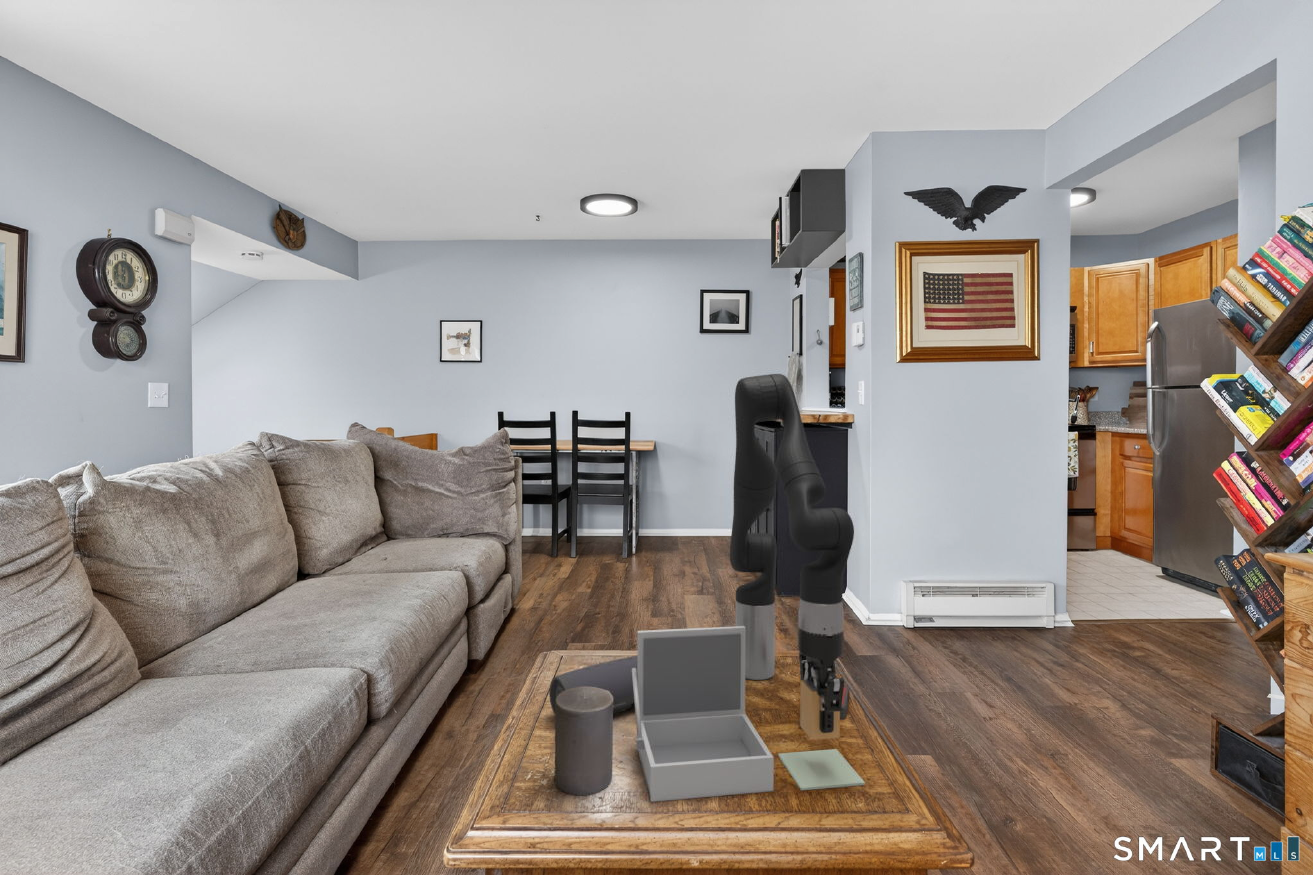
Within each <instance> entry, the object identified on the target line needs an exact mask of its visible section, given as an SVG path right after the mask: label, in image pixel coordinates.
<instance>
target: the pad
mask: <svg viewBox="0 0 1313 875" xmlns="http://www.w3.org/2000/svg"><path fill="white" fill-rule="evenodd" d="M838 750H839V749H837V748H833V749H820V750H819V749H818V750H807V751H793V752H792V751H791V752H782V753H781V752H780V753H778V754H777V757H778V758H779V759H780V761H781V762H782V764H783V765H784V767H785V769H786V770H787V772H788V773H789V774H790V776H791V778H792V779H793V780H794V782H795V784H796V785H797V787H798V788H799V789H800V791H809V790H820V789H821V790H822V789H832V788H833V789H835V788H845V787H856V786H857V787H858V786H865V785H866V782H865V781H864V779H863V778H862V777H861V775H859V773H858V772H856V770H855V769H854V767H852V766H851V764H850V763H849V762H848V761H847V759H846V758H845V757H844V756H843V755H842V754H841V752H839V751H838Z"/></svg>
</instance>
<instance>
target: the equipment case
mask: <svg viewBox="0 0 1313 875" xmlns="http://www.w3.org/2000/svg"><path fill="white" fill-rule="evenodd" d="M745 639H746V628H745V626H736V625H733V626H717V627H713V626H712V627H695V628H694V627H693V628H692V627H689V628H672V629H652V630H649V629H647V630H637V655H636V656H637V673H636V668H633V669H632V679H633V691H634V703H633V704H634V713H635V724H636V736H635V747H636V748H635V749H636V750H637V752H638V756H639V761H640V764H641V768H642V773H643V776H644V780H645V784H646V788H647V791H648V796H649V800H650V802H651V803H652V802H653V803H654V802H663V801H675V800H676V801H677V800H684V799H685V800H687V799H697V798H698V799H699V798H700V799H701V798H709V797H710V798H711V797H722V796H731V795H745V794H755V793H757V794H758V793H764V792H765V793H766V792H767V793H768V792H774V769H775V767H774V766H775V764H774V761H775V758H774V755H773V754H772V752H771V751H770V750H769V748H768V747H767V745H766V743H765V741H764V740H763V738H762V737H761V736H760V734H759V733H758V731H757V730H756V728H755V727H754V725H753V723H752V721H751V720H750V719H749V717H748V716H747V714H746V678H745Z"/></svg>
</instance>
